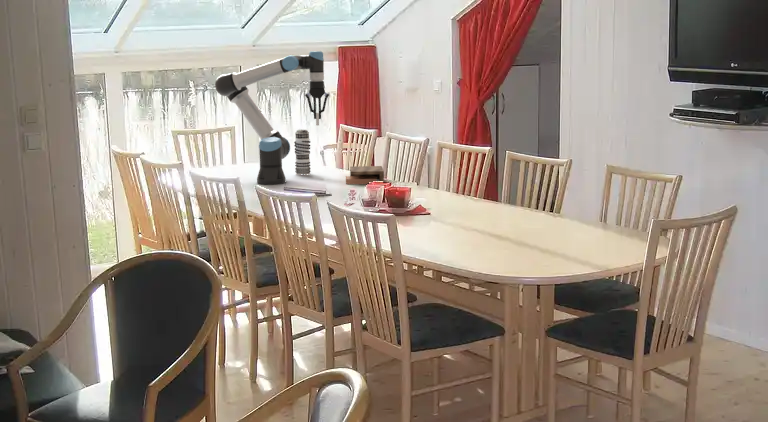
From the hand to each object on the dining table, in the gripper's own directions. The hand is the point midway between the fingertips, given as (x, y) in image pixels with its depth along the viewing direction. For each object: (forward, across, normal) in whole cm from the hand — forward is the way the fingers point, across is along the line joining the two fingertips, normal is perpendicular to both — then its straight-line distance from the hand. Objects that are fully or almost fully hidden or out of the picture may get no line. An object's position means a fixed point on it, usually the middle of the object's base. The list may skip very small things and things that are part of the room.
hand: (317, 125), depth 510 cm
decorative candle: (+30, -9, +21) cm, 37 cm away
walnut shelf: (+29, +26, -11) cm, 40 cm away
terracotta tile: (+30, +22, -12) cm, 39 cm away
